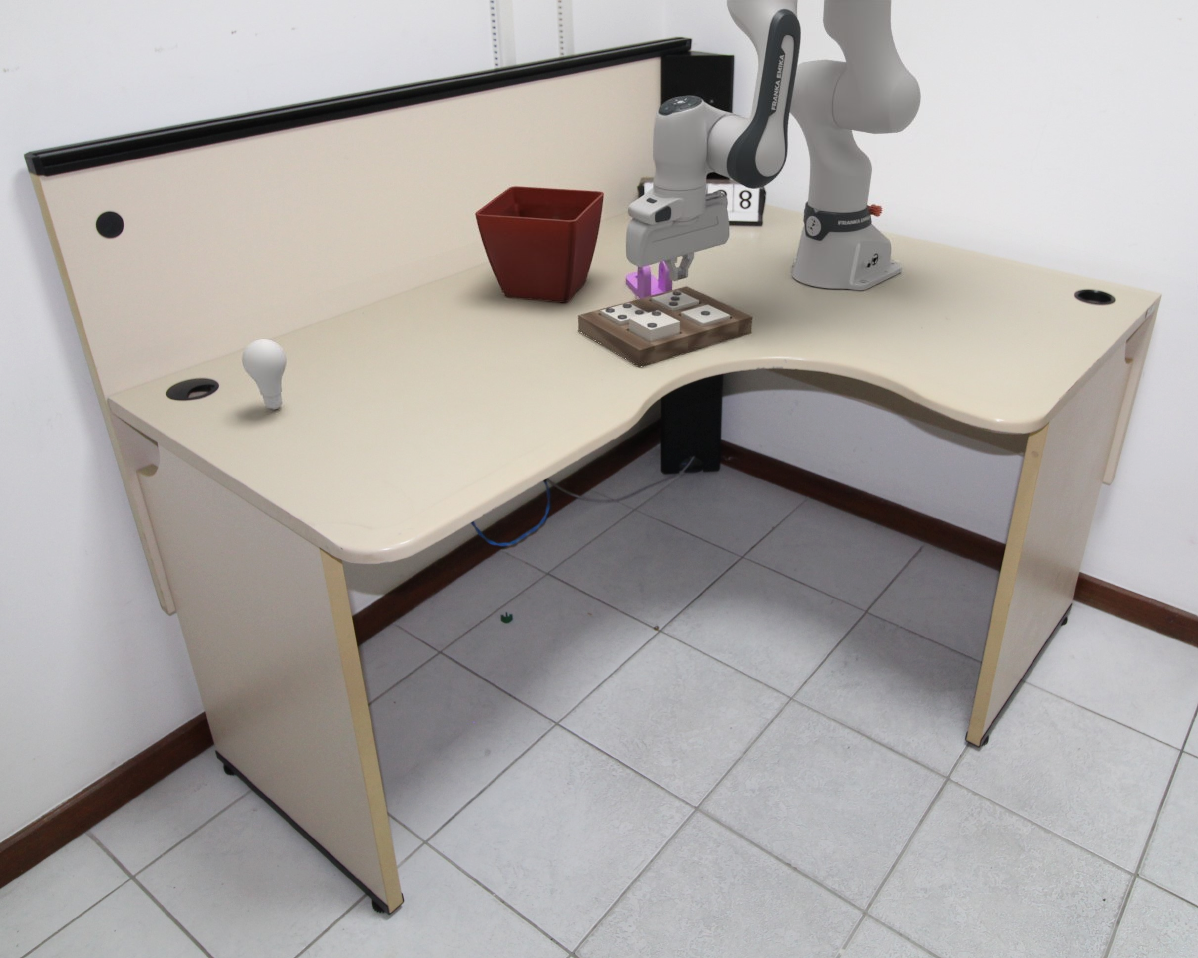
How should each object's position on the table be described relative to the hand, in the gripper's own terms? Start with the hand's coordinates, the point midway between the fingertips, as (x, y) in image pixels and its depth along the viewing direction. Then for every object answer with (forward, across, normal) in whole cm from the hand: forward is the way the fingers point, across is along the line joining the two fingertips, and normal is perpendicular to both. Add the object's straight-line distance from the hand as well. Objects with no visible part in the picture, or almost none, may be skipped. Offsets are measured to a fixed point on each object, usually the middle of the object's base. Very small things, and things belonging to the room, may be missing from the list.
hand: (678, 278), depth 169 cm
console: (+7, +6, +5) cm, 10 cm away
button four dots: (+6, +12, 0) cm, 14 cm away
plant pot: (+7, +13, -25) cm, 29 cm away
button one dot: (+7, +1, +9) cm, 11 cm away
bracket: (+8, -3, -14) cm, 16 cm away
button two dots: (+5, +12, +9) cm, 16 cm away
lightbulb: (+5, +72, -6) cm, 72 cm away
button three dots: (+7, +1, 0) cm, 7 cm away
